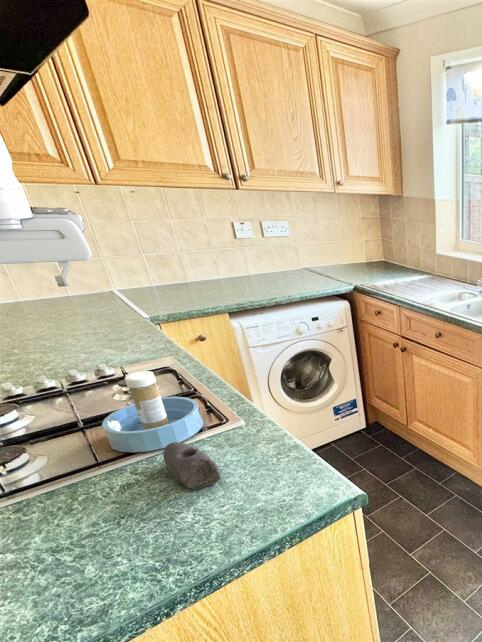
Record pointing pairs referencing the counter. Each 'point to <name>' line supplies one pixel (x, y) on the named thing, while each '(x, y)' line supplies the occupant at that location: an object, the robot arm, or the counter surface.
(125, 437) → the bowl
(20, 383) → the counter surface
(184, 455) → the perforated stone tool
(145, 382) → the sprinkles bottle
